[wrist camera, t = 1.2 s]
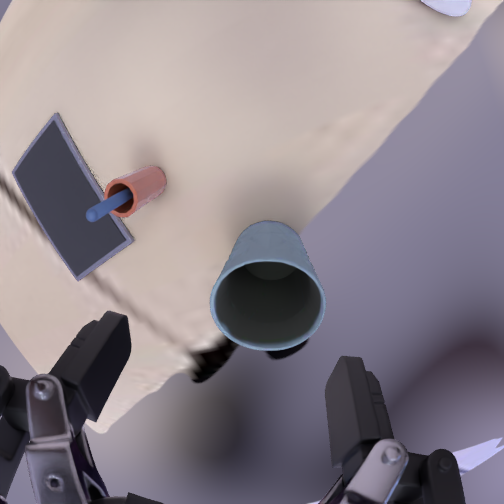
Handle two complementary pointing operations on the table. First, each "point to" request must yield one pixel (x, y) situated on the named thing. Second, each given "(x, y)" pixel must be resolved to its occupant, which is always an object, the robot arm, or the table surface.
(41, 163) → the tablet
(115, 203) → the stylus
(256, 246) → the blue-grey tapered bin
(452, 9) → the flower in vase
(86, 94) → the table surface
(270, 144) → the table surface
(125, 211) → the pen pot
